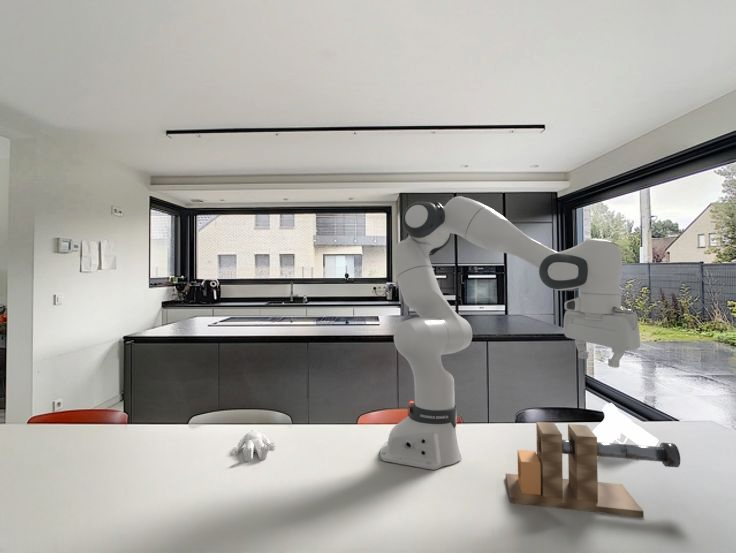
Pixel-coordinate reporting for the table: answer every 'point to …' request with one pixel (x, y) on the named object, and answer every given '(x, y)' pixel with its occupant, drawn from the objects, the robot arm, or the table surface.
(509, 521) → the table surface
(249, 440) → the toy creature
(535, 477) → the block
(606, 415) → the handgun
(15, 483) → the table surface
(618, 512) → the threaded rod press
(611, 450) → the shaft
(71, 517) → the table surface
